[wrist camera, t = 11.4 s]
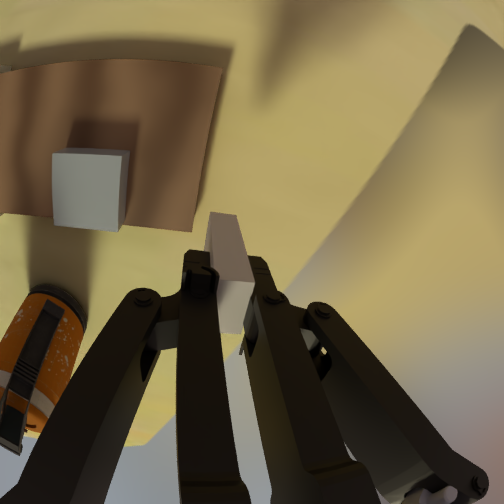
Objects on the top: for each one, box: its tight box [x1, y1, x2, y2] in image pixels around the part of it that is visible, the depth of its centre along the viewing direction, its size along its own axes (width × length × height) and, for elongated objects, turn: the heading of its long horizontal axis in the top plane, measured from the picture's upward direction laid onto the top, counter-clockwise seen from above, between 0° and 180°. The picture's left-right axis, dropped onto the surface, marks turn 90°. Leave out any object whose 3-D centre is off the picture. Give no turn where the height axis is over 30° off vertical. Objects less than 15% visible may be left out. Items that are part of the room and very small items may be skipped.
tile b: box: [52, 148, 130, 232], centre depth 19 cm, size 6×6×2 cm
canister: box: [0, 285, 87, 456], centre depth 19 cm, size 9×11×20 cm
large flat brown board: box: [0, 59, 223, 232], centre depth 19 cm, size 22×14×2 cm, turn 77°
